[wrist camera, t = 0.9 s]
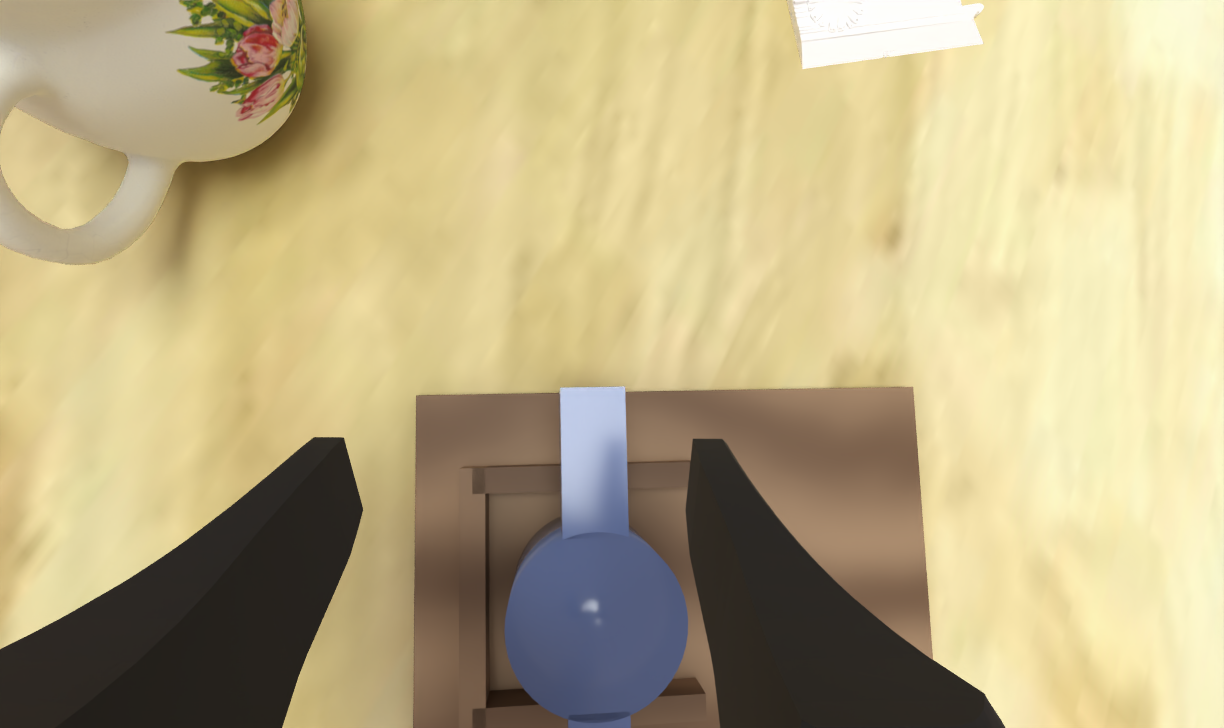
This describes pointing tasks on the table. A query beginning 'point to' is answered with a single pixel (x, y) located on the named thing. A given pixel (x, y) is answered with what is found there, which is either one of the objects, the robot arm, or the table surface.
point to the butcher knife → (879, 28)
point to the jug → (594, 583)
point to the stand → (651, 524)
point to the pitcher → (144, 97)
